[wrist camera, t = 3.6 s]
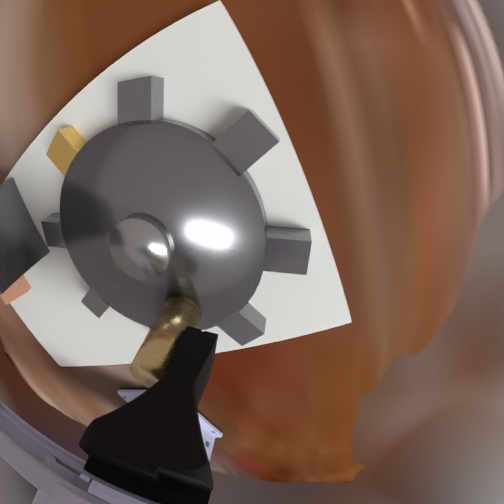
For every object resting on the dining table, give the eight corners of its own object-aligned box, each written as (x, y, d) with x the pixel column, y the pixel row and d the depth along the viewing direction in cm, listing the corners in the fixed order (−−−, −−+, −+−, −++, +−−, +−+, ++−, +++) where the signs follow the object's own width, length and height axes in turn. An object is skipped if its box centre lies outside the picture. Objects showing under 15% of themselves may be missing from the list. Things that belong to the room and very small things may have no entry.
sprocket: (332, 312, 14) (343, 403, 9) (129, 345, 18) (96, 405, 13) (236, 31, 8) (190, -27, 3) (28, 168, 12) (-40, 201, 7)
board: (348, 310, 15) (353, 329, 14) (64, 360, 24) (57, 370, 22) (225, 7, 8) (216, -5, 7) (-21, 231, 17) (-32, 238, 15)
